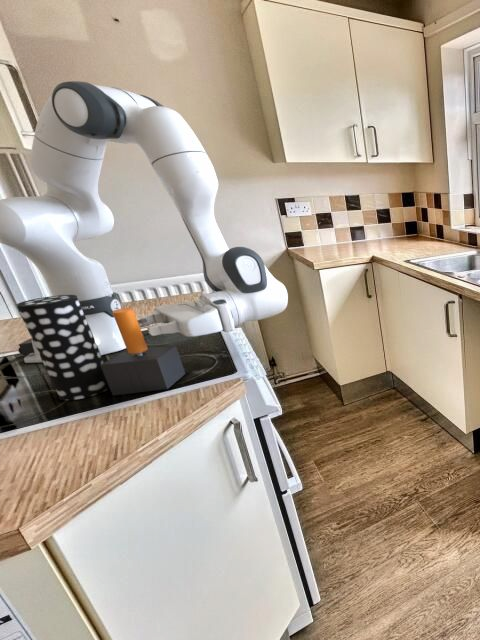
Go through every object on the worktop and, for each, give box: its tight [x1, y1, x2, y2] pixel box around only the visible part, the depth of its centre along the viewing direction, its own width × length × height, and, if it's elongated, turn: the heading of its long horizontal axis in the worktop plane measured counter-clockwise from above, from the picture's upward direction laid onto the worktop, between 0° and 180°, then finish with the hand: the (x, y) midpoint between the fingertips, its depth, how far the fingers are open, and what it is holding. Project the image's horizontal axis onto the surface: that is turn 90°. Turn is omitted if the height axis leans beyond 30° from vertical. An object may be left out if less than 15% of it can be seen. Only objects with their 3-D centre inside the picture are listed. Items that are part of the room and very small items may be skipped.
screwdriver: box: [112, 307, 149, 356], centre depth 88 cm, size 3×3×17 cm
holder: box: [100, 345, 186, 396], centre depth 91 cm, size 10×8×7 cm
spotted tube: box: [15, 295, 110, 401], centre depth 86 cm, size 8×8×20 cm
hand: (142, 327), depth 89 cm, fingers open, 8 cm apart
